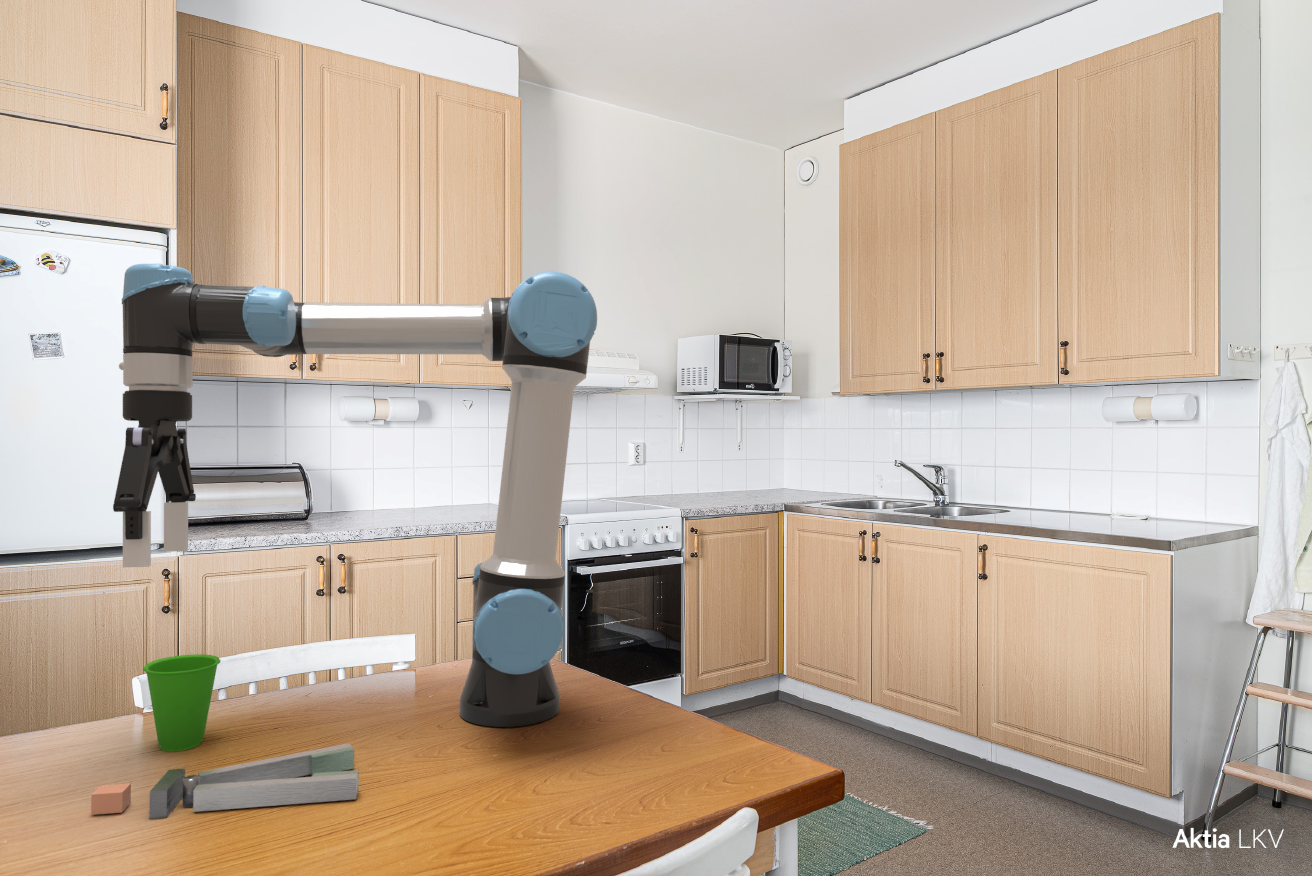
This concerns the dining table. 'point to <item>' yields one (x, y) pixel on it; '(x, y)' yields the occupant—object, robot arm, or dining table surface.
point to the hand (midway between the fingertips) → (157, 558)
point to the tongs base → (248, 792)
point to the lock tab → (110, 799)
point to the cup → (181, 698)
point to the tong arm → (284, 766)
